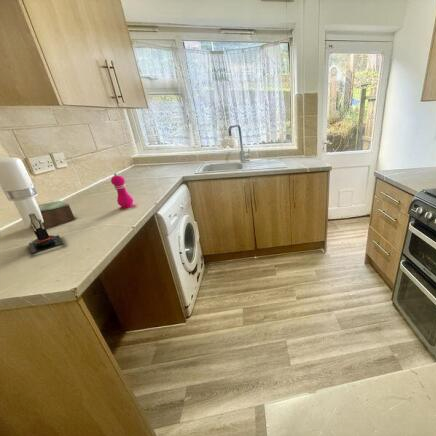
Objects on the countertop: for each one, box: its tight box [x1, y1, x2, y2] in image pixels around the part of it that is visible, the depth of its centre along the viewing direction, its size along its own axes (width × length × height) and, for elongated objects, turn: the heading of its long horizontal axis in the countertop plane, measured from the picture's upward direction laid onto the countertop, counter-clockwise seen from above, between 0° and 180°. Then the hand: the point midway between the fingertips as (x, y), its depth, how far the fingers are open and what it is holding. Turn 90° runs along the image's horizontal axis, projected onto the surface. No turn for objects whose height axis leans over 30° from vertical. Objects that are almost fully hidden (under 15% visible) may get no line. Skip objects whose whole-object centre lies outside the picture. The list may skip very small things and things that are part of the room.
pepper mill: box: [110, 172, 135, 210], centre depth 130 cm, size 7×7×20 cm
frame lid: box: [38, 200, 70, 212], centre depth 114 cm, size 14×11×6 cm
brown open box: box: [30, 205, 76, 230], centre depth 117 cm, size 13×11×8 cm
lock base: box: [28, 234, 64, 255], centre depth 95 cm, size 11×9×4 cm
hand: (44, 238), depth 94 cm, fingers closed
